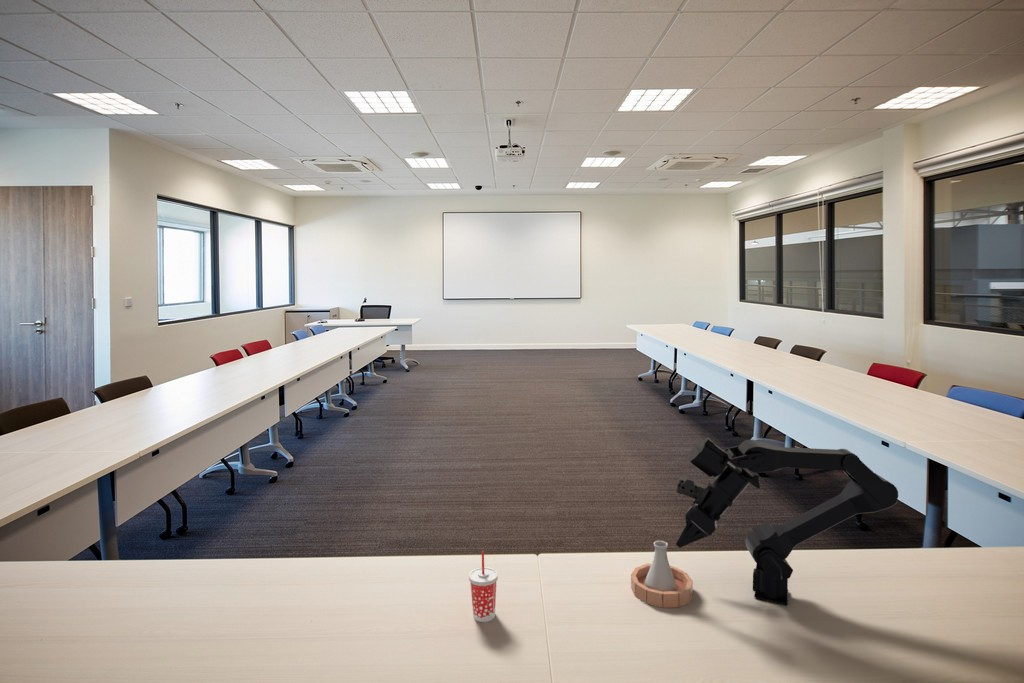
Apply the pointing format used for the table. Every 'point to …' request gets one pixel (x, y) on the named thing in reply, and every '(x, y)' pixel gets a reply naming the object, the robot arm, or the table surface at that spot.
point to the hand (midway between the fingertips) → (680, 540)
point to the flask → (660, 570)
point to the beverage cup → (483, 592)
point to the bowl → (659, 597)
